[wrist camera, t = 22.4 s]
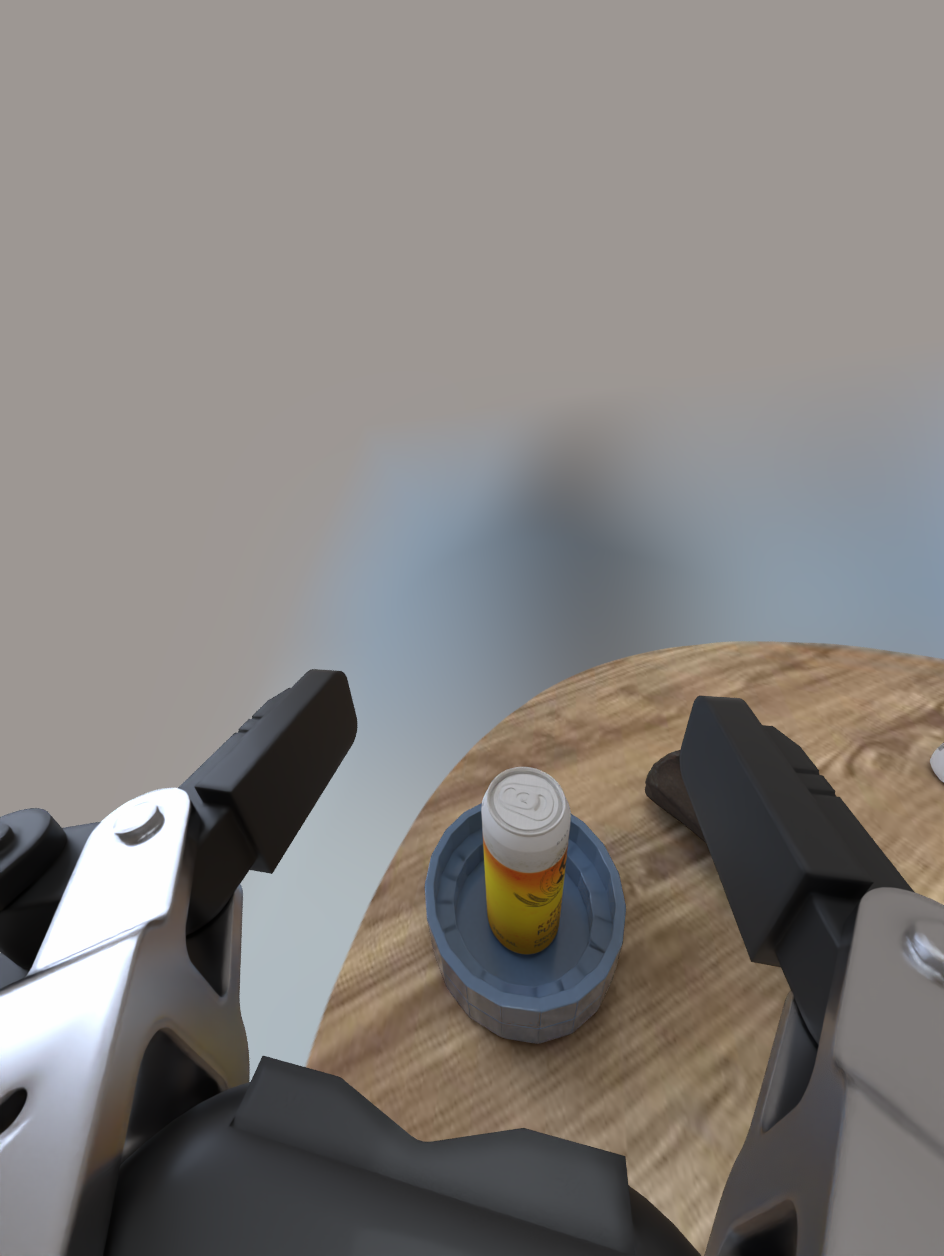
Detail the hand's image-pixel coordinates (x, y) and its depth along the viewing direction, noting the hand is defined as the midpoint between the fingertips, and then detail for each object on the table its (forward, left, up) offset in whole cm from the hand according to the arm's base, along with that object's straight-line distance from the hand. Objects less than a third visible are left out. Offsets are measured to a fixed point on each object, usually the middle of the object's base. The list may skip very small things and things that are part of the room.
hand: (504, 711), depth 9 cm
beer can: (-3, +10, -31) cm, 33 cm away
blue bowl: (-3, +10, -32) cm, 34 cm away
